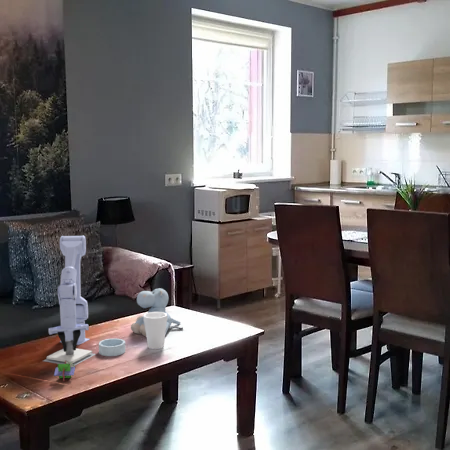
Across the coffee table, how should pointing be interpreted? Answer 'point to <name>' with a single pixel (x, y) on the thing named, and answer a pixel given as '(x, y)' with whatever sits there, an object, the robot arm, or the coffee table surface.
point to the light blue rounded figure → (152, 309)
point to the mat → (73, 363)
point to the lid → (69, 353)
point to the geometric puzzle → (65, 370)
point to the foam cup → (155, 329)
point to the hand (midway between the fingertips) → (69, 350)
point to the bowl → (112, 347)
